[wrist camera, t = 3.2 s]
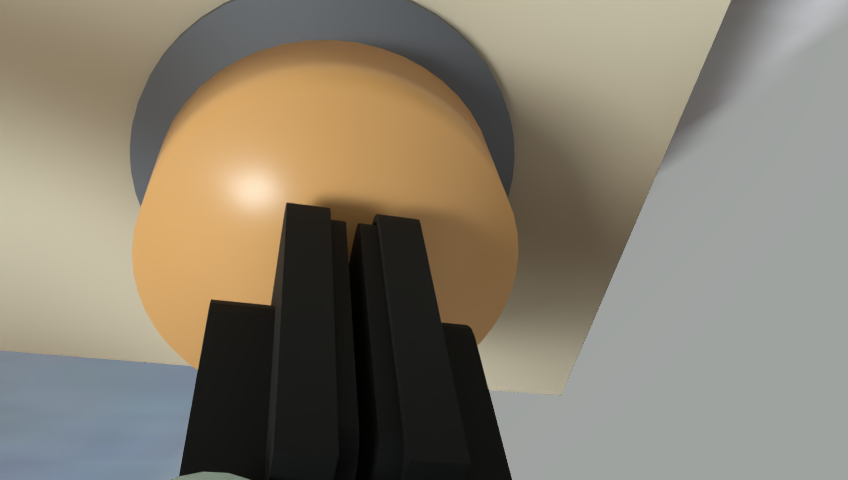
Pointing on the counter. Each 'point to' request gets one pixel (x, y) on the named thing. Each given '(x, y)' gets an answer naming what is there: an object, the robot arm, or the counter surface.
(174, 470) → the counter surface
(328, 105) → the orange button
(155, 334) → the button panel
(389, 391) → the robot arm
